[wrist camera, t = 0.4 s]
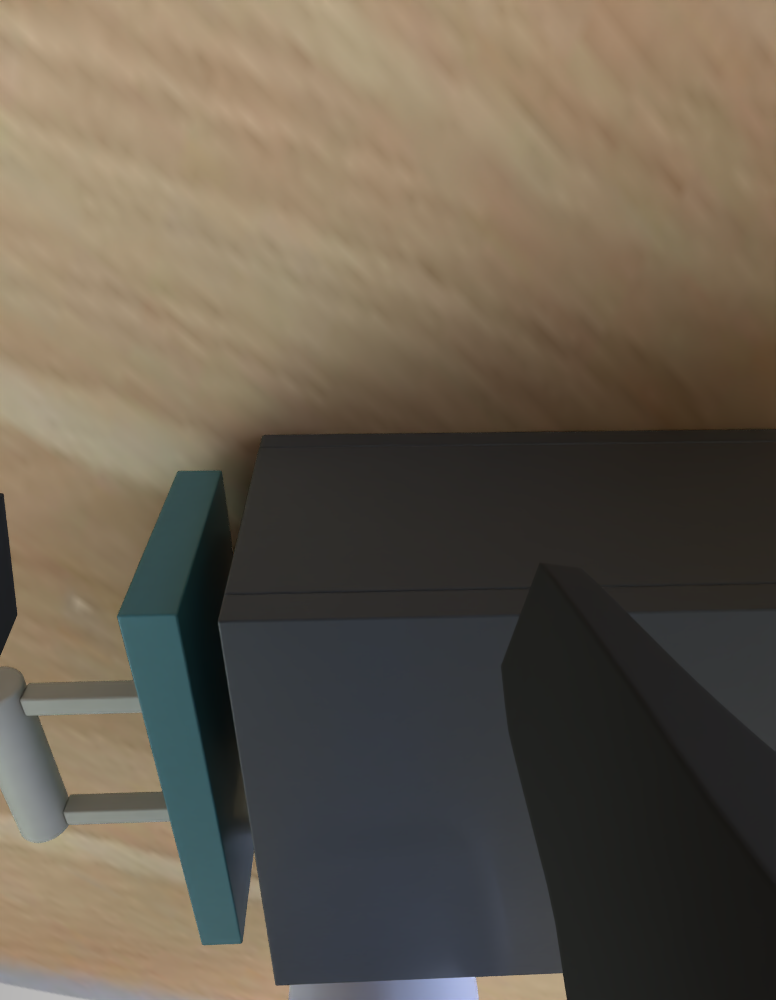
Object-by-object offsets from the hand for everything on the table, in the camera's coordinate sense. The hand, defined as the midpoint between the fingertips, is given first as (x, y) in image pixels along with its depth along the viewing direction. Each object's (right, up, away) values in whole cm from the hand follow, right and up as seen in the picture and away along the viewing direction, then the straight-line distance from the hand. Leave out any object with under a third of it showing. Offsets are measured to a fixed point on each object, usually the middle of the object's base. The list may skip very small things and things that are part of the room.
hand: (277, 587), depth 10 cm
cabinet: (+5, -3, +14) cm, 15 cm away
